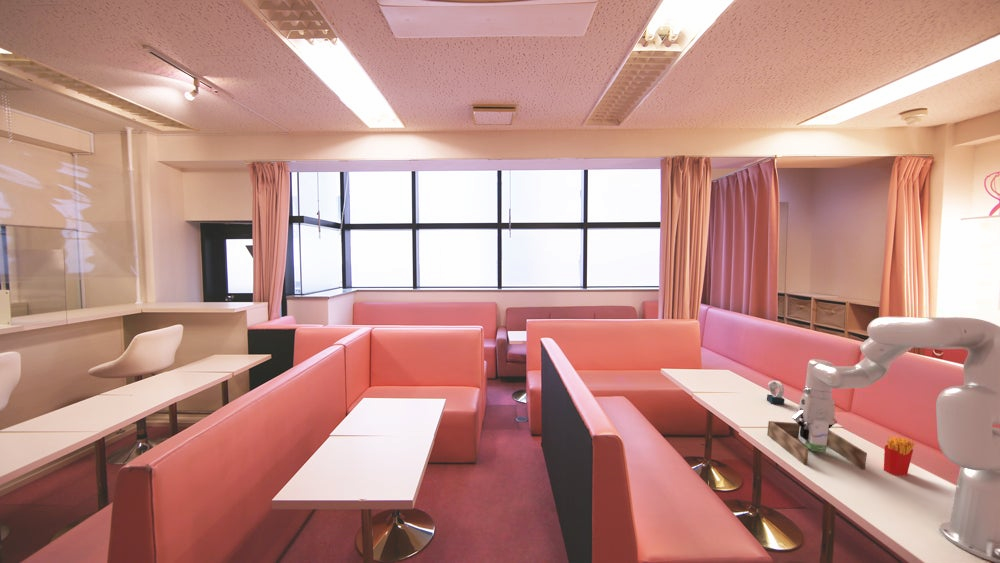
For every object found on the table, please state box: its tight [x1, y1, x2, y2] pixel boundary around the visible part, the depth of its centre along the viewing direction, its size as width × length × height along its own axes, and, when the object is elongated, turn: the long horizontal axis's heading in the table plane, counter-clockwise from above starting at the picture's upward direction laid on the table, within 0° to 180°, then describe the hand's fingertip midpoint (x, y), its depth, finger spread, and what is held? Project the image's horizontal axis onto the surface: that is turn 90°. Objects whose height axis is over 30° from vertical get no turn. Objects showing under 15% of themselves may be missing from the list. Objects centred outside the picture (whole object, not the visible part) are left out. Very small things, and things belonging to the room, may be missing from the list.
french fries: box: [883, 436, 915, 476], centre depth 124 cm, size 8×4×12 cm, turn 92°
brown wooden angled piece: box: [766, 420, 868, 470], centre depth 136 cm, size 20×20×6 cm
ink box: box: [797, 419, 830, 453], centre depth 136 cm, size 8×5×12 cm, turn 167°
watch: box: [766, 380, 786, 406], centre depth 179 cm, size 6×8×11 cm
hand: (812, 438), depth 136 cm, fingers closed on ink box, 5 cm apart
